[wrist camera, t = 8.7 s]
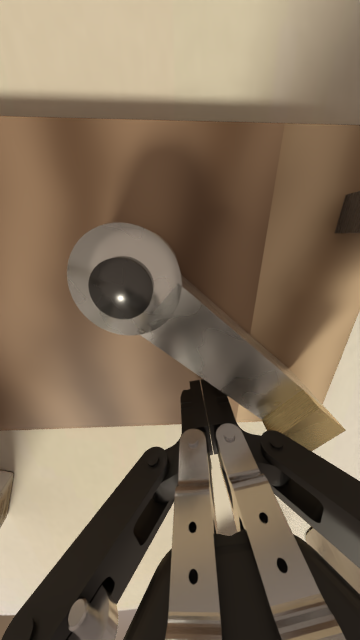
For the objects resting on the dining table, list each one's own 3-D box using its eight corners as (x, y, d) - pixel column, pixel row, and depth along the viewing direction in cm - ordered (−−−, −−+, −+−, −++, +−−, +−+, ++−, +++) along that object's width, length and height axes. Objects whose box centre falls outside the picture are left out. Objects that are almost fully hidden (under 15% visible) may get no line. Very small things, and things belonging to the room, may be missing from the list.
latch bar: (84, 276, 11) (23, 301, 6) (129, 208, 9) (94, 180, 5) (253, 399, 15) (287, 465, 10) (300, 363, 14) (360, 421, 9)
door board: (402, 139, 10) (432, 127, 9) (307, 407, 17) (316, 419, 16) (-169, 126, 9) (-217, 110, 8) (-10, 418, 16) (-24, 431, 15)
